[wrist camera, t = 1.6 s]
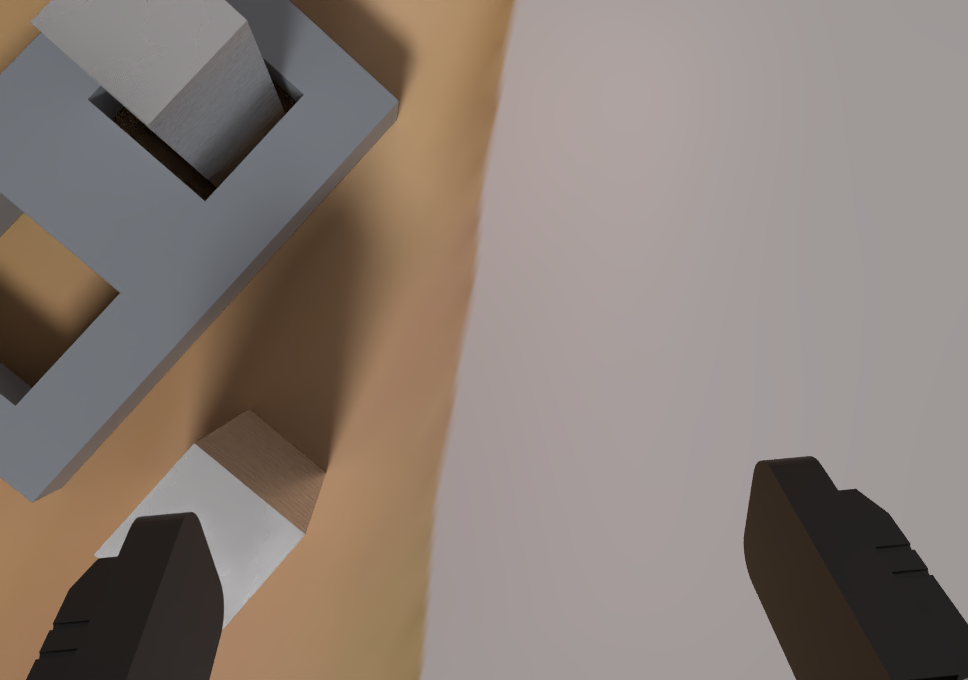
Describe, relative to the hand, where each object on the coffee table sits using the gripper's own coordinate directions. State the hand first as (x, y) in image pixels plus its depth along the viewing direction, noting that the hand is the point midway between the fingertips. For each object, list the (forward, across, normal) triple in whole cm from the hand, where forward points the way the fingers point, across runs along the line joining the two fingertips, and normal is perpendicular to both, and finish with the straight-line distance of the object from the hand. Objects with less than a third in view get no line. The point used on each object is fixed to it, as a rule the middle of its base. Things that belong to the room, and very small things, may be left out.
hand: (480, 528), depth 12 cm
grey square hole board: (+25, +14, +4) cm, 29 cm away
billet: (+19, +10, +15) cm, 26 cm away
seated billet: (+28, +10, +1) cm, 29 cm away
